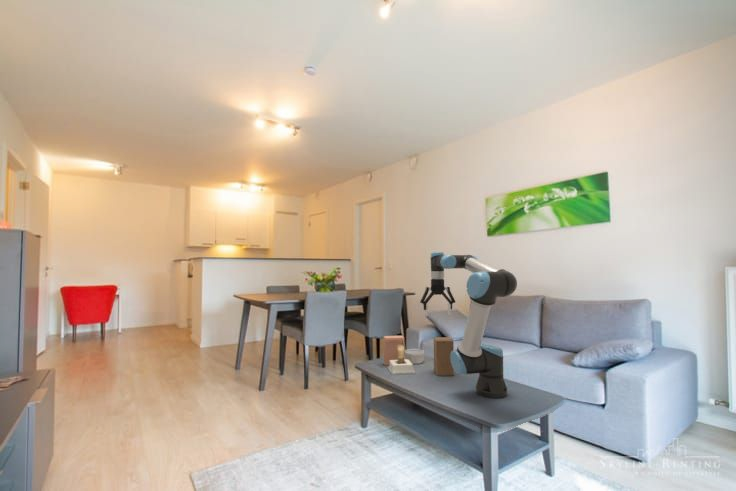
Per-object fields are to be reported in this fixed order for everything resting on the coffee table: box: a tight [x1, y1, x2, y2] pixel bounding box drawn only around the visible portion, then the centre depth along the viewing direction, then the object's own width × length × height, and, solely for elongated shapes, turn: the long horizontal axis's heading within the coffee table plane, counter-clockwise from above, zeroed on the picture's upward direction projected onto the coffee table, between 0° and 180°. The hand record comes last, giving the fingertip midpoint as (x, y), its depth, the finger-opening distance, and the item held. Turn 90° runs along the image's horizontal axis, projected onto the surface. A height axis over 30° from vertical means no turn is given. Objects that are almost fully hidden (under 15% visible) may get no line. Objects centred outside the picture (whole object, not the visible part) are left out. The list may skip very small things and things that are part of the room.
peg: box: [397, 344, 405, 364], centre depth 217 cm, size 4×4×14 cm
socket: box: [387, 358, 416, 376], centre depth 217 cm, size 14×14×5 cm
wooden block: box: [433, 336, 455, 377], centre depth 212 cm, size 10×10×20 cm
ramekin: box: [404, 348, 425, 365], centre depth 236 cm, size 13×13×7 cm
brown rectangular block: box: [383, 335, 405, 366], centre depth 228 cm, size 7×12×18 cm, turn 97°
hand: (438, 315), depth 207 cm, fingers open, 13 cm apart
